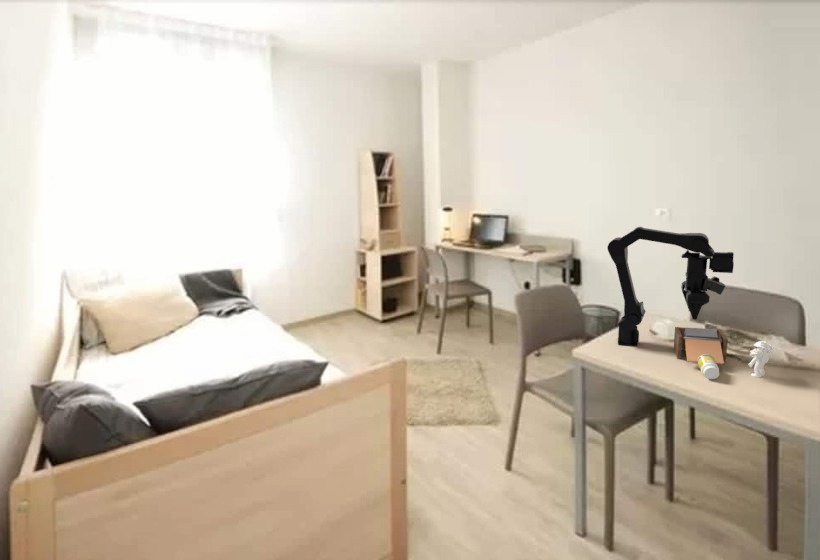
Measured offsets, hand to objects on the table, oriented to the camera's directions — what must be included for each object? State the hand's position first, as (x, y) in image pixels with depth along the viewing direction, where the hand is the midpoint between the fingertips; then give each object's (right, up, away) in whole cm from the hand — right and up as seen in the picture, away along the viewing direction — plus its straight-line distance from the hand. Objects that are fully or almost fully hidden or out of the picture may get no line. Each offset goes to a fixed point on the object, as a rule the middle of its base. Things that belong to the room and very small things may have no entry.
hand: (692, 315), depth 167 cm
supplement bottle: (-4, -13, -13) cm, 19 cm away
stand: (+1, -13, -1) cm, 14 cm away
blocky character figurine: (+9, -17, -19) cm, 27 cm away
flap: (-1, -12, -6) cm, 13 cm away
